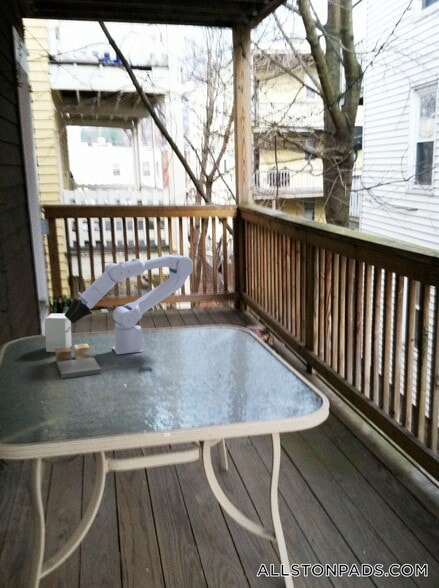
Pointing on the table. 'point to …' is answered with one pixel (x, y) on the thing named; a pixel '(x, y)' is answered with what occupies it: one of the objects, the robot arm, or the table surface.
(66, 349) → the walnut block
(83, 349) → the maple block
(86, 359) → the plate
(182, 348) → the table surface
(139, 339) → the robot arm
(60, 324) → the supplement box
